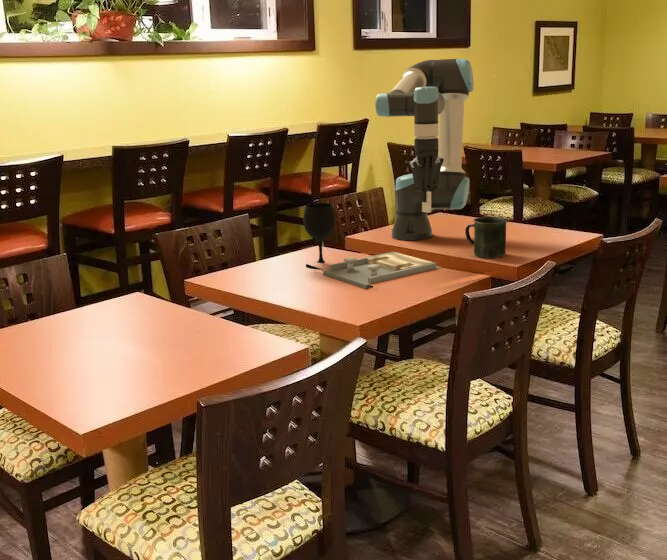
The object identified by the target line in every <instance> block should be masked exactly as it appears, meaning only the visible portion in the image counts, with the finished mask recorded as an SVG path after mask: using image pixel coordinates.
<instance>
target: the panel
mask: <svg viewBox="0 0 667 560" xmlns="http://www.w3.org/2000/svg"><path fill="white" fill-rule="evenodd" d="M367 259H368V264H373V263H376V264H378V265H380V267H382V268H385V269H388V270H392V271H397V270H403V269H408V268H412V267H416V266H421V265H425V264H430V263H434V262H433V261H430V260H428V259H427V260H426V259H422V258H419V257H416V256H410V255H407V254H403V253H400V252H397V251H395V253H391V254H386V255H382V256H377V257H372V258H367Z"/></svg>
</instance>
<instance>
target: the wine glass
mask: <svg viewBox="0 0 667 560" xmlns="http://www.w3.org/2000/svg"><path fill="white" fill-rule="evenodd" d="M302 219H303V227H304V229H305V231H306V233H307V235H309V236H310V237H311V238H312V239H313V240H315V241H316V242H317V244H318V252H319V253H318V255H319V256H318V257H319V258H318V261H316V263H318V264H325V263H326V261H325V260H324V257H323V243H324V241H325V240H327V238H329V236H331V234H332V233H333V231H334V229H335V226H336V214H335V209H334V206H333V204H332V203H329V202H317V203H316V202H314V203H308V204H306V205H305V206H304V209H303V217H302ZM305 268H307V269H311V270H321V268H320V267H318V266H313V265H311V264H309V263H306V264H305Z"/></svg>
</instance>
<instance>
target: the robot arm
mask: <svg viewBox="0 0 667 560" xmlns="http://www.w3.org/2000/svg"><path fill="white" fill-rule="evenodd" d="M473 91H474V73H473V68H472V64H471V62H470V60H468V59H467V58H458V57H457V58H448V59H445V58H444V59H428V60H427V59H426V60H422V61H420V62H417V63H415V64H413V65H411V66H409V67H408V68H407V69H406V70H404V71H403V73H402V75H401V77H400V79H399V81H398V83H397V84H396V85H394V87H393V88H392V89H391V90H390V91H389V92H382V93H378V94H377V95H376V96H375V102H374V105H375V112H376V115H377V116H378V117H385V118H389V117H390V118H392V117H414V119H413V120H414V123H413V124H414V125H413V126H414V128H413V129H414V132H413V133H414V139H413V140H414V141H413V143H414V151H415V155H414V158H413V160H410V161H408V165H409V167H410V168H411V173H408V174H403V175H401V176H399V177H397V178H396V179H395V189H394V191H395V219H394V223H393V227H392V229H391V238H393V239H396V240H401V241H420V240H425V239H430V238H431V237H433V229H432V226H431V223H430V219H429V217H428V213H432V210H451V211H453V210H461V209H463V208H464V207H465V206H466V204H467V201H468V197H469V192H470V182H471V181H470V178H469V177H468V176H466V171H465V170H464V169H463V168H462V165H463V164H462V161H463V160H462V159H463V136H464V113H465V101H467V99H468V98H469V96H470V95H469V94H470V93H472V92H473Z"/></svg>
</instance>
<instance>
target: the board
mask: <svg viewBox="0 0 667 560" xmlns="http://www.w3.org/2000/svg"><path fill="white" fill-rule="evenodd" d="M391 253H396V251H389V252H385V253H380V254H376V255H371V256H367V257H362V258H356V257H354V256H353V257H352V256H351V257H350V256H349V257H345V258H344V259H343V261H342V262H337V263H333V264H329V265H328V267H329V269H326V270H322V273H323V275H324V276H326V277H328V278H329V277H330V278H332V277H333V279H335V278H336V279H335V280H338V279H339V280H338V281H341V280H342V281H341V282H344V281H345V282H344V283H347V282H348V283H347V284H350V283H351V284H350V285H353V284H354V286H356V285H357V286H356V287H359V286H360V287H359V288H362V287H363V288H362V289H364V288H368V289H370V288H369V287H372V288H374V287H373V286H374V285H373V284H378V283H381V282H385V281H390V280H393V279H398V278H402V277H407V276H412V275H415V274H420V273H423V272H427V271H432V270H437V269H441V268H442V266H439V265H437V262H433V263H430V264H425V265H421V266H416V267H412V268H408V269H403V270H397V271H392V270H388V269H385V268H382V267H380V265H378V264H376V263H373V264H368V259H367V258H372V257H377V256H382V255H386V254H391Z"/></svg>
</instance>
